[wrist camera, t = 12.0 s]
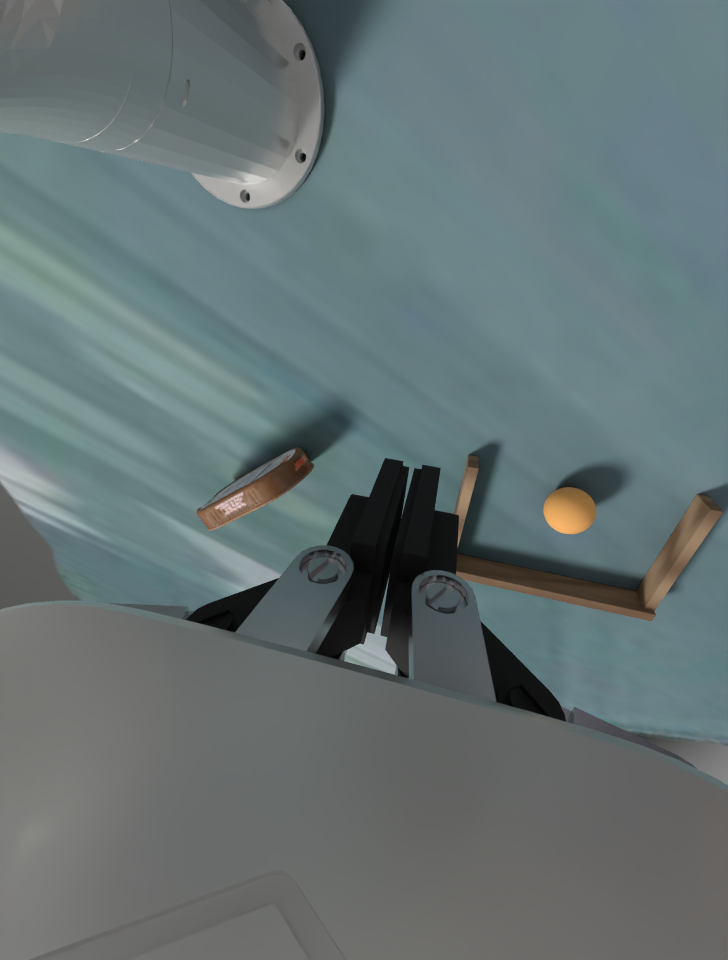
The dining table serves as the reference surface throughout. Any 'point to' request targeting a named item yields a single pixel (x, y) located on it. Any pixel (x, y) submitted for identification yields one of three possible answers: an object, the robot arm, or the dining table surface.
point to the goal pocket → (584, 592)
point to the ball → (569, 510)
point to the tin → (256, 488)
